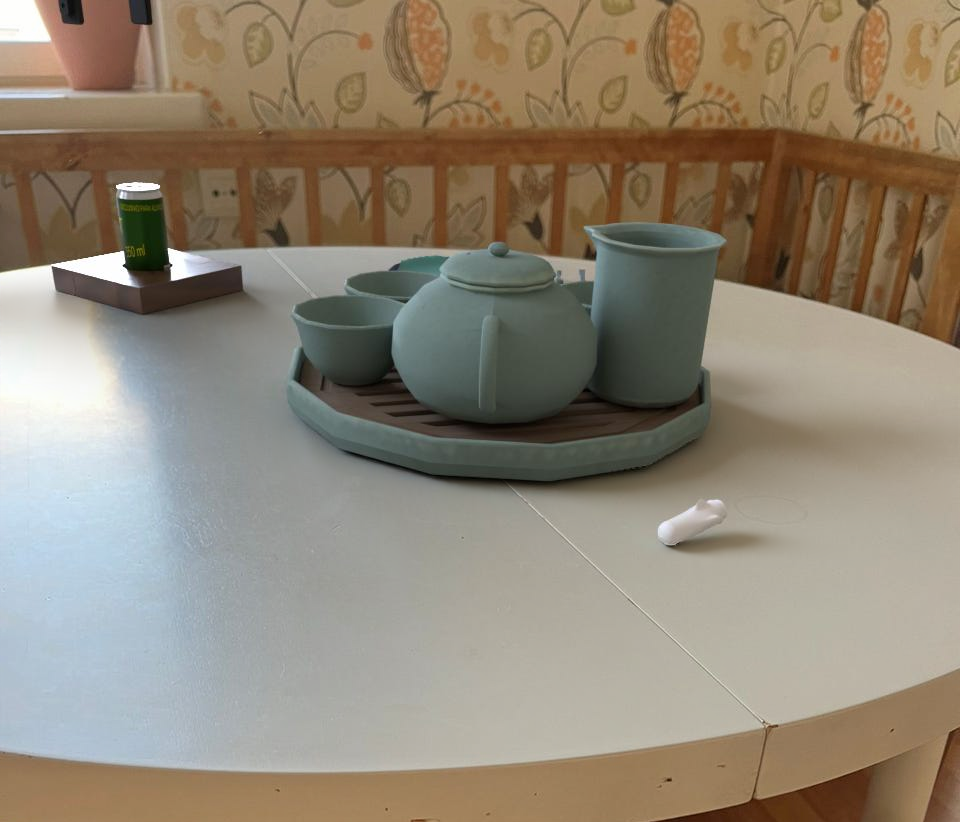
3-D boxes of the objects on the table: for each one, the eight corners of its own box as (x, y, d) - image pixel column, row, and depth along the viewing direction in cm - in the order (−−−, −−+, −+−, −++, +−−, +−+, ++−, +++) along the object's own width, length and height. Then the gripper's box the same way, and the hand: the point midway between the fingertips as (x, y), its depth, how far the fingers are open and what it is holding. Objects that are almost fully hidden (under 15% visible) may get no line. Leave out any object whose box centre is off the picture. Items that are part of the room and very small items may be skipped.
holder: (55, 290, 128) (50, 264, 127) (157, 269, 140) (155, 245, 138) (142, 314, 121) (139, 288, 119) (243, 290, 132) (241, 265, 131)
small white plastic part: (640, 529, 78) (645, 490, 76) (717, 527, 79) (724, 489, 77) (652, 551, 75) (658, 511, 73) (732, 549, 76) (740, 510, 74)
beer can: (176, 285, 133) (165, 183, 126) (169, 296, 128) (157, 191, 122) (132, 284, 132) (119, 182, 126) (124, 295, 128) (110, 189, 121)
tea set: (602, 335, 122) (618, 182, 113) (789, 466, 90) (831, 267, 81) (257, 353, 110) (245, 185, 102) (330, 510, 78) (322, 285, 70)
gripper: (127, -149, 121) (146, 22, 130) (-8, -169, 109) (23, 22, 118) (171, -150, 118) (187, 26, 127) (37, -171, 105) (65, 26, 114)
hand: (108, 24), depth 122 cm, fingers open, 9 cm apart
